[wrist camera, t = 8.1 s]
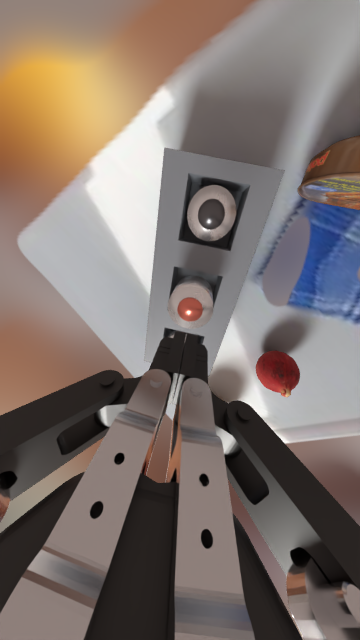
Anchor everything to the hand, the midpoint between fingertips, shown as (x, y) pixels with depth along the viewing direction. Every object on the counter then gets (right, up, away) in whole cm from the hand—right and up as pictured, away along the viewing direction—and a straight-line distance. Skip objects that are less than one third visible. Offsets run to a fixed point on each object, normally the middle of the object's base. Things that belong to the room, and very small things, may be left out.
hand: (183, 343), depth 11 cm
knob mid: (+1, +5, +9) cm, 10 cm away
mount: (+2, +7, +14) cm, 16 cm away
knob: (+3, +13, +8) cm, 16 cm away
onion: (+15, -4, +18) cm, 24 cm away
